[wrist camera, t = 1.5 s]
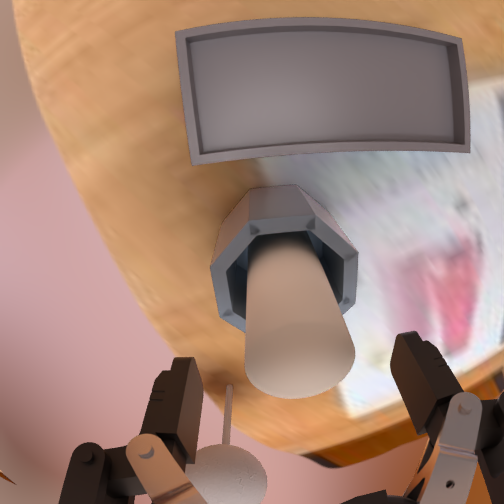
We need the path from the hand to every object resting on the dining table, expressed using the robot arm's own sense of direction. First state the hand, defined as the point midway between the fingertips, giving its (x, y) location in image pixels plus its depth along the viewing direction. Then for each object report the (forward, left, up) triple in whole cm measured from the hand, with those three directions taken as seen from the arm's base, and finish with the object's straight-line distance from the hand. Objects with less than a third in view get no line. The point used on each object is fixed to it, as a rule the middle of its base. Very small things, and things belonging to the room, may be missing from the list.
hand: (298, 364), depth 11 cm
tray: (-5, -11, -13) cm, 18 cm away
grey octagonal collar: (0, 0, -13) cm, 13 cm away
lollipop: (+6, +16, -13) cm, 22 cm away
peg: (0, 0, -12) cm, 12 cm away
